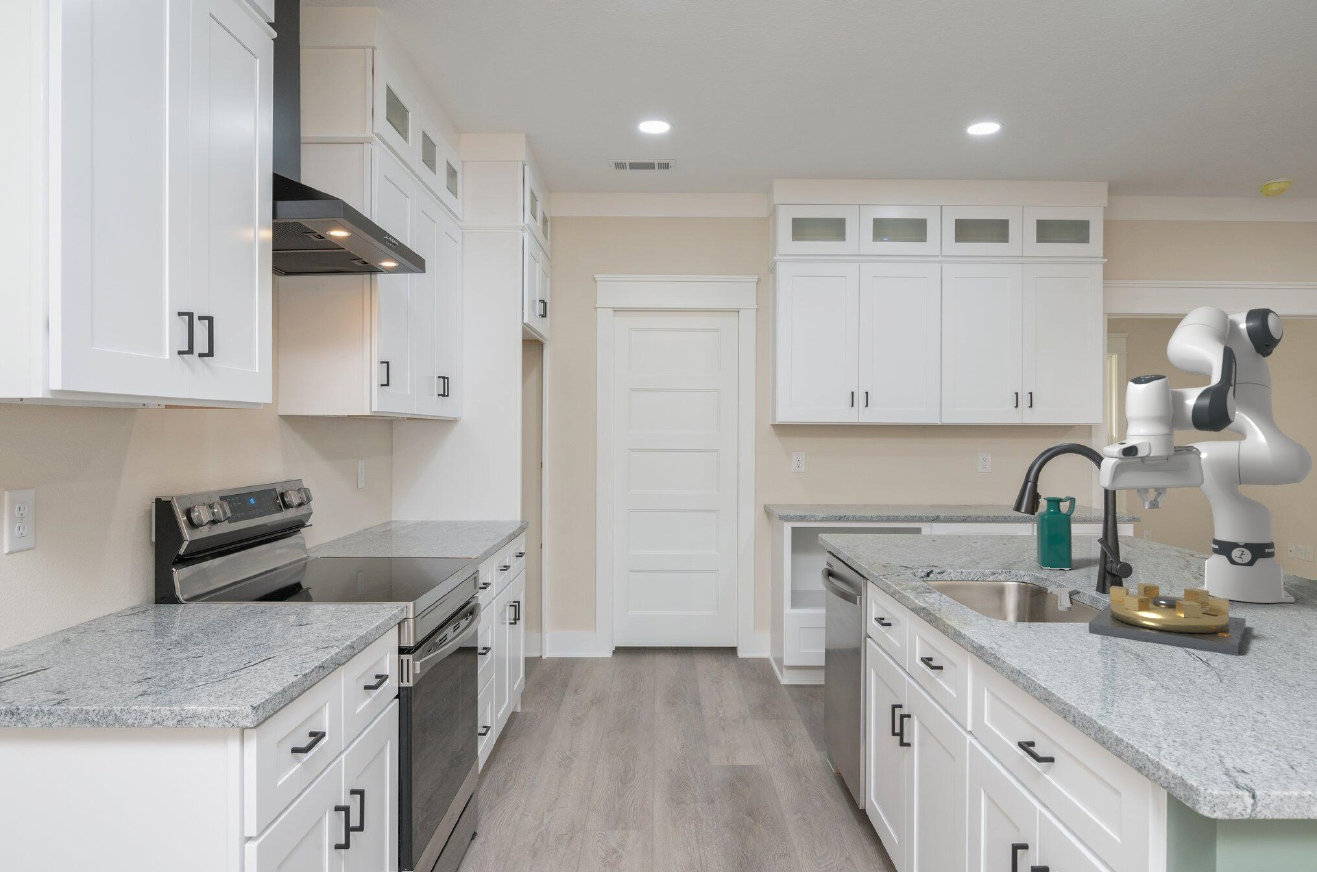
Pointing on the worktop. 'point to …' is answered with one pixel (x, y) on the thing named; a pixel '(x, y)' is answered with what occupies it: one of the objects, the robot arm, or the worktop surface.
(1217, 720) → the worktop surface
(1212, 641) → the base plate
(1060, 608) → the adjustable wrench
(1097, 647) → the worktop surface
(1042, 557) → the pitcher
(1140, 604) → the ring nut
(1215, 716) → the worktop surface
